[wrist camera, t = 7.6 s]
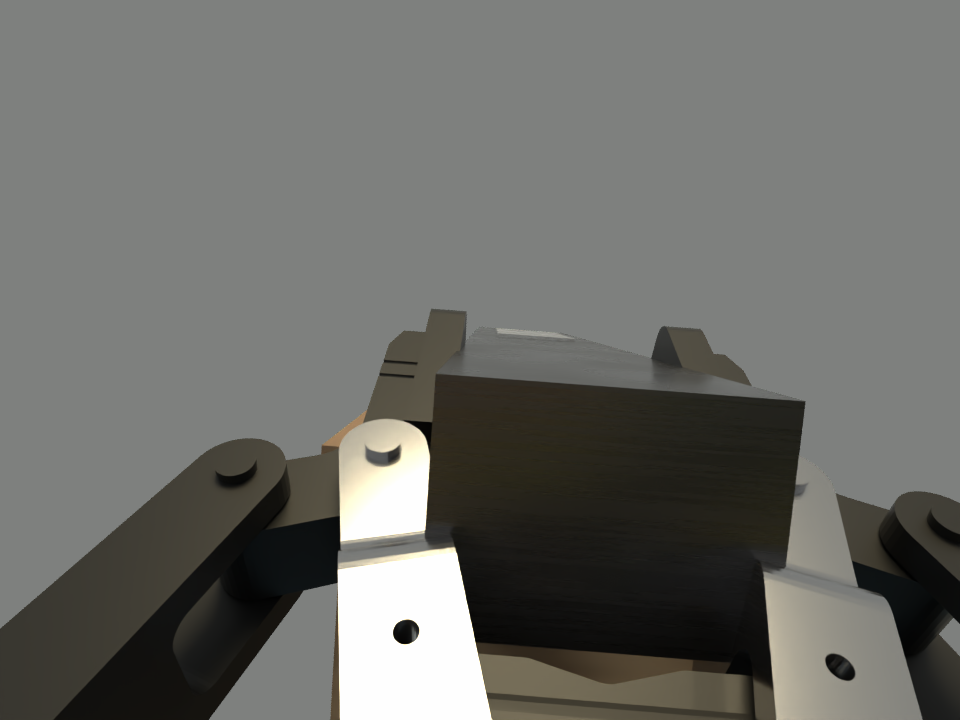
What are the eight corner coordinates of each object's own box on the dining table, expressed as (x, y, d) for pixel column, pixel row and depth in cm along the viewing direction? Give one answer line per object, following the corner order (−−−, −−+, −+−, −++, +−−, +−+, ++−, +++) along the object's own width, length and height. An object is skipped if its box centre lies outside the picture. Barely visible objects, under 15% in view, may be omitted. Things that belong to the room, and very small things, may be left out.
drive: (556, 394, 28) (562, 331, 28) (774, 665, 7) (806, 391, 6) (474, 388, 29) (479, 324, 28) (417, 638, 7) (436, 364, 6)
